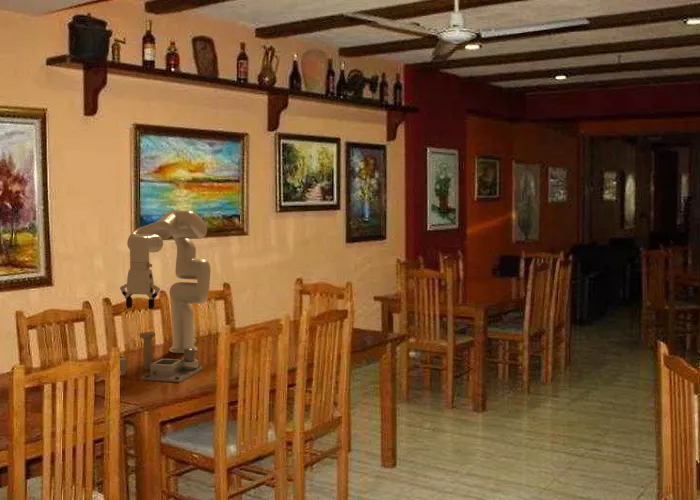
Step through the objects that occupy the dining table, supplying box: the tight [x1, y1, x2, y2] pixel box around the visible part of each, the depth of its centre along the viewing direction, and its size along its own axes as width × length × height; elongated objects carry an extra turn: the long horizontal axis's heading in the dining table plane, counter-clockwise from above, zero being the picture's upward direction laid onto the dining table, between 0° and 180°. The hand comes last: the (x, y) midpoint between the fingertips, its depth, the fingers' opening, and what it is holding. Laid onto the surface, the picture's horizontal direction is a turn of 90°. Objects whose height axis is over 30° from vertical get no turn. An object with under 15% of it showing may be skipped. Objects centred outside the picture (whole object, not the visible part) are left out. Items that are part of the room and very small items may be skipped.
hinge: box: [96, 355, 128, 380], centre depth 311 cm, size 17×5×10 cm, turn 151°
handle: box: [139, 331, 156, 371], centre depth 326 cm, size 5×6×15 cm
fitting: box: [141, 348, 203, 383], centre depth 317 cm, size 22×16×9 cm
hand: (140, 308), depth 320 cm, fingers open, 9 cm apart
